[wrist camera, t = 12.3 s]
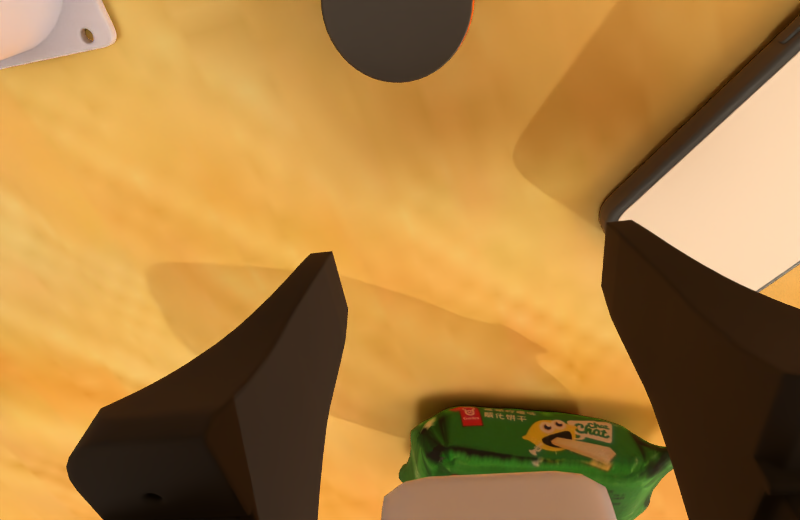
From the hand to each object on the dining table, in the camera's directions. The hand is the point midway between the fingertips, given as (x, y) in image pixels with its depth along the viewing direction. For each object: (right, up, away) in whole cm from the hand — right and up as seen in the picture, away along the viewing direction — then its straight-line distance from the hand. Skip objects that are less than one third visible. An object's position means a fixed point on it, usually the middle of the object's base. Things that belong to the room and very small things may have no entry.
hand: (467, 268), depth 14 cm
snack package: (+6, -11, +19) cm, 22 cm away
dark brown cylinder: (-2, +10, +5) cm, 11 cm away
